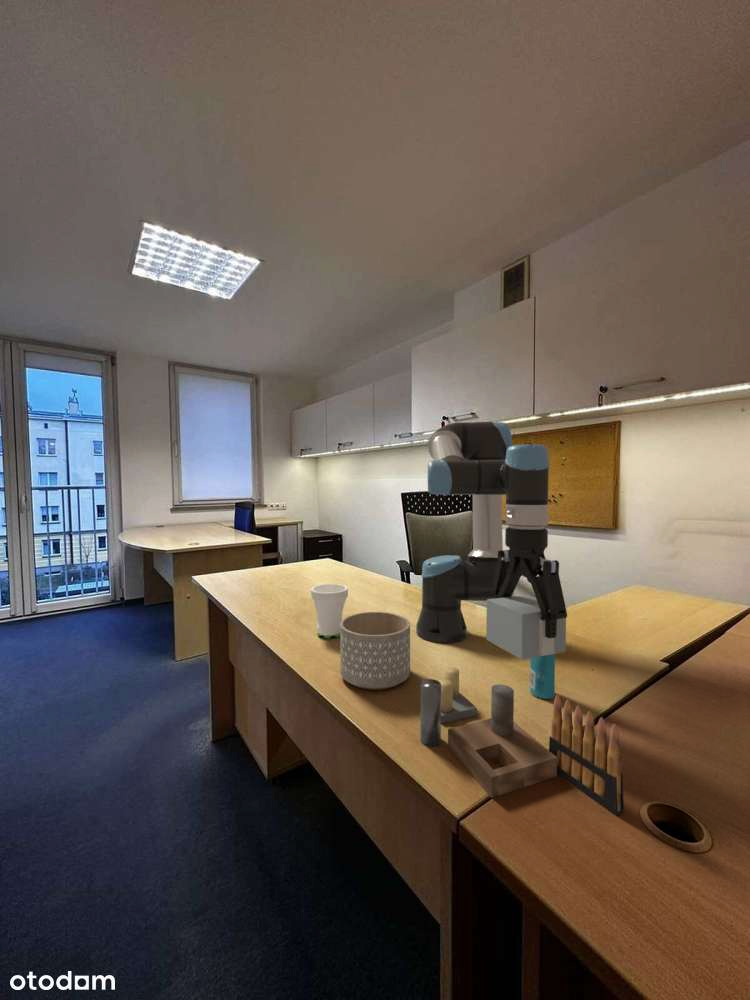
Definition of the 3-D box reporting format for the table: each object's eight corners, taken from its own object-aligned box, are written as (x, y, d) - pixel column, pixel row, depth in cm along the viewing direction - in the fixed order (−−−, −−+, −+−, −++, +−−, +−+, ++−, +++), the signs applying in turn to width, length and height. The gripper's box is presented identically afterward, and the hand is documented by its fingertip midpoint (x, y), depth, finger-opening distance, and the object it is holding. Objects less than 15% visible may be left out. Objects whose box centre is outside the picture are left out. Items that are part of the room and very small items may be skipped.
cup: (328, 625, 126) (328, 581, 126) (355, 633, 120) (355, 586, 119) (303, 636, 117) (302, 589, 117) (330, 645, 110) (330, 595, 110)
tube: (564, 699, 82) (565, 608, 81) (548, 704, 80) (549, 611, 79) (535, 683, 89) (536, 599, 88) (520, 688, 87) (520, 602, 86)
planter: (424, 676, 92) (424, 622, 92) (374, 702, 81) (374, 642, 80) (375, 654, 104) (375, 607, 104) (326, 675, 93) (325, 622, 92)
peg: (434, 731, 71) (434, 677, 71) (444, 743, 68) (445, 687, 67) (416, 736, 70) (416, 681, 70) (426, 748, 67) (426, 690, 66)
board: (454, 694, 84) (454, 664, 84) (476, 715, 76) (477, 682, 76) (421, 702, 81) (421, 671, 81) (440, 723, 74) (440, 689, 73)
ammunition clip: (547, 767, 62) (548, 692, 62) (555, 763, 63) (556, 690, 63) (616, 816, 53) (617, 729, 52) (624, 811, 54) (625, 725, 53)
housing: (526, 633, 81) (527, 594, 81) (565, 651, 72) (566, 608, 72) (486, 639, 78) (486, 599, 77) (521, 659, 68) (522, 614, 68)
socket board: (505, 730, 71) (505, 677, 71) (556, 776, 60) (557, 712, 60) (447, 746, 67) (448, 688, 67) (491, 798, 56) (492, 729, 56)
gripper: (474, 522, 83) (473, 625, 84) (557, 534, 62) (555, 672, 63) (503, 521, 86) (502, 621, 87) (592, 532, 65) (590, 664, 65)
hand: (525, 642), depth 75 cm, fingers closed on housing, 10 cm apart
